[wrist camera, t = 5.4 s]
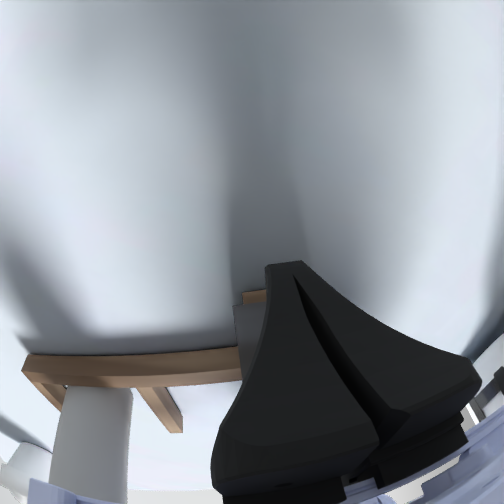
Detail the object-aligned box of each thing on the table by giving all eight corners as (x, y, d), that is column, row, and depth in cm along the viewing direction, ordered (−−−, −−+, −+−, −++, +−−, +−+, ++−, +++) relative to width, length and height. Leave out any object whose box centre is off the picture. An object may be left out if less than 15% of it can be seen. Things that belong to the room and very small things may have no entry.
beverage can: (63, 379, 16) (37, 526, 6) (86, 355, 15) (57, 539, 5) (116, 407, 18) (108, 545, 8) (148, 388, 17) (145, 556, 7)
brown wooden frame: (301, 401, 20) (319, 466, 15) (80, 413, 19) (71, 470, 14) (315, 282, 14) (362, 382, 9) (-1, 313, 12) (-37, 385, 7)
